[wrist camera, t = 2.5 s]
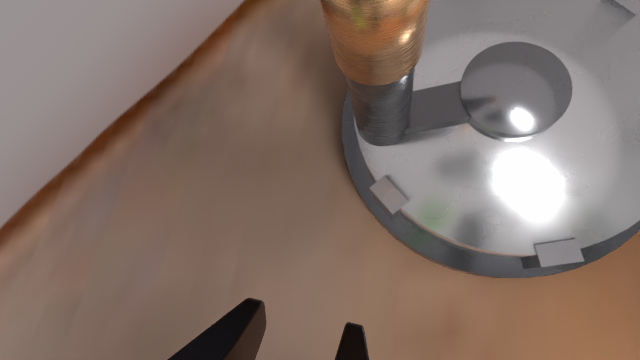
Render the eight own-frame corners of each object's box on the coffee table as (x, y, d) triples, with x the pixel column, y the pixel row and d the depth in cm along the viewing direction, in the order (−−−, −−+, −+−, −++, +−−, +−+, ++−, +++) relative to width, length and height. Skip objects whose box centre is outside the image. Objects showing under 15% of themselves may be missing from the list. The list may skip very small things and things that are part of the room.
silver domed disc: (595, -37, 22) (909, -527, 9) (718, 241, 18) (1824, 110, 4) (336, 26, 25) (267, -285, 11) (382, 288, 20) (362, 306, 6)
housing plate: (566, 347, 19) (580, 353, 18) (292, 175, 25) (286, 169, 23) (714, 73, 21) (737, 58, 20) (432, -31, 27) (434, -49, 25)
